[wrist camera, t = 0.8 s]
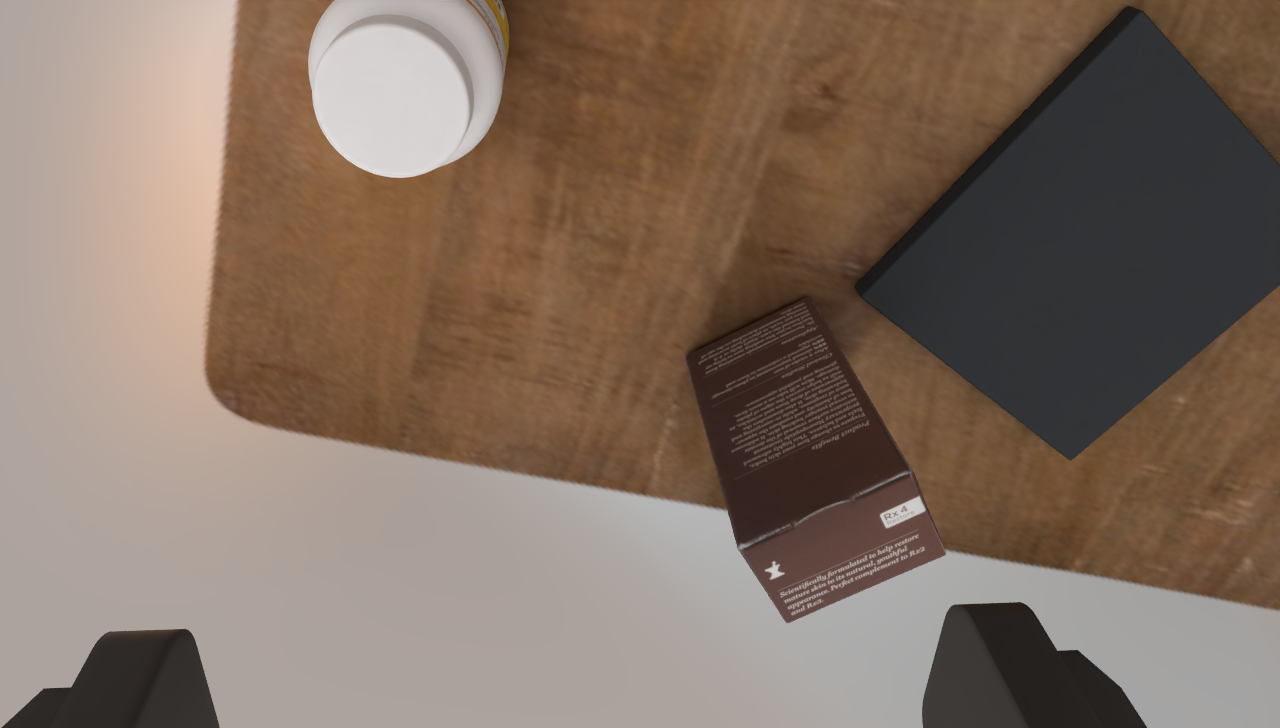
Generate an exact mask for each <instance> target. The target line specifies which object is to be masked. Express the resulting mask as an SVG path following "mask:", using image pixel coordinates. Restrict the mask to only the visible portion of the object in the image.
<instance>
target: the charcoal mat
mask: <svg viewBox="0 0 1280 728" xmlns="http://www.w3.org/2000/svg"><path fill="white" fill-rule="evenodd" d="M1279 285H1280V165H1279V164H1278V163H1277V162H1276V161H1275V159H1274V158H1273V157H1272V156H1271V155H1270V154H1269V153H1268V152H1267V150H1266V149H1265V148H1264V147H1263V146H1262V145H1261V144H1260V142H1259V141H1258V140H1257V139H1256V138H1255V137H1254V136H1253V135H1252V133H1251V132H1250V131H1249V130H1248V129H1247V128H1246V127H1245V126H1244V124H1243V123H1242V122H1241V121H1240V120H1239V119H1238V118H1237V117H1236V115H1235V114H1234V113H1233V112H1232V111H1231V110H1230V109H1229V108H1228V106H1227V105H1226V104H1225V103H1224V102H1223V101H1222V100H1221V99H1220V97H1219V96H1218V95H1217V94H1216V93H1215V92H1214V91H1213V89H1212V88H1211V87H1210V86H1209V85H1208V84H1207V83H1206V82H1205V80H1204V79H1203V78H1202V77H1201V76H1200V75H1199V74H1198V73H1197V71H1196V70H1195V69H1194V68H1193V67H1192V66H1191V65H1190V64H1189V62H1188V61H1187V60H1186V59H1185V58H1184V57H1183V56H1182V55H1181V53H1180V52H1179V51H1178V50H1177V49H1176V48H1175V47H1174V45H1173V44H1172V43H1171V42H1170V41H1169V40H1168V39H1167V38H1166V36H1165V35H1164V34H1163V33H1162V32H1161V31H1160V30H1159V29H1158V27H1157V26H1156V25H1155V24H1154V23H1153V22H1152V21H1151V20H1150V18H1149V17H1148V16H1147V15H1146V14H1145V13H1144V12H1143V11H1142V10H1139V9H1136V8H1133V7H1130V6H1128V7H1126V8H1125V10H1124V11H1123V12H1122V13H1121V14H1120V15H1119V16H1118V17H1117V18H1116V19H1115V20H1114V21H1113V22H1112V23H1111V24H1110V25H1109V26H1108V27H1107V28H1106V29H1105V30H1104V31H1103V32H1102V33H1101V34H1100V35H1099V36H1098V37H1097V38H1096V39H1095V40H1094V41H1093V42H1092V43H1091V44H1090V46H1089V47H1088V48H1087V49H1086V50H1085V51H1084V52H1083V53H1082V54H1081V55H1080V56H1079V57H1078V58H1077V59H1076V60H1075V61H1074V62H1073V63H1072V64H1071V65H1070V66H1069V67H1068V68H1067V69H1066V70H1065V71H1064V72H1063V73H1062V74H1061V75H1060V76H1059V77H1058V78H1057V79H1056V80H1055V82H1054V83H1053V84H1052V85H1051V86H1050V87H1049V88H1048V89H1047V90H1046V91H1045V92H1044V93H1043V94H1042V95H1041V96H1040V97H1039V98H1038V99H1037V100H1036V101H1035V102H1034V103H1033V104H1032V105H1031V106H1030V107H1029V108H1028V109H1027V110H1026V111H1025V112H1024V113H1023V114H1022V115H1021V116H1020V118H1019V119H1018V120H1017V121H1016V122H1015V123H1014V124H1013V125H1012V126H1011V127H1010V128H1009V129H1008V130H1007V131H1006V132H1005V133H1004V134H1003V135H1002V136H1001V137H1000V138H999V139H998V140H997V141H996V142H995V143H994V144H993V145H992V146H991V147H990V148H989V149H988V150H987V151H986V152H985V154H984V155H983V156H982V157H981V158H980V159H979V160H978V161H977V162H976V163H975V164H974V165H973V166H972V167H971V168H970V169H969V170H968V171H967V172H966V173H965V174H964V175H963V176H962V177H961V178H960V179H959V180H958V181H957V182H956V183H955V184H954V185H953V186H952V187H951V188H950V190H949V191H948V192H947V193H946V194H945V195H944V196H943V197H942V198H941V199H940V200H939V201H938V202H937V203H936V204H935V205H934V206H933V207H932V208H931V209H930V210H929V211H928V212H927V213H926V214H925V215H924V216H923V217H922V218H921V219H920V220H919V221H918V222H917V223H916V224H915V226H914V227H913V228H912V229H911V230H910V231H909V232H908V233H907V234H906V235H905V236H904V237H903V238H902V239H901V240H900V241H899V242H898V243H897V244H896V245H895V246H894V247H893V248H892V249H891V250H890V251H889V252H888V253H887V254H886V255H885V256H884V257H883V258H882V259H881V260H880V262H879V263H878V264H877V265H876V266H875V267H874V268H873V269H872V270H871V271H870V272H869V273H868V274H867V275H866V276H865V277H864V278H863V279H862V280H861V281H860V282H859V283H858V284H857V285H856V286H855V288H856V290H857V292H858V293H859V295H860V296H861V298H862V299H864V300H865V301H866V302H868V303H869V304H870V305H871V306H873V307H874V308H875V309H877V310H878V311H879V312H880V313H882V314H883V315H884V316H885V317H887V318H888V319H889V320H891V321H892V322H893V323H894V324H896V325H897V326H898V327H900V328H901V329H902V330H903V331H905V332H906V333H907V334H909V335H910V336H911V337H912V338H914V339H915V340H916V341H917V342H919V343H920V344H921V345H923V346H924V347H925V348H926V349H928V350H929V351H930V352H932V353H933V354H934V355H935V356H937V357H938V358H939V359H940V360H942V361H943V362H944V363H946V364H947V365H948V366H949V367H951V368H952V369H953V370H955V371H956V372H957V373H958V374H960V375H961V376H962V377H964V378H965V379H966V380H967V381H969V382H970V383H971V384H972V385H974V386H975V387H976V388H978V389H979V390H980V391H981V392H983V393H984V394H985V395H987V396H988V397H989V398H990V399H992V400H993V401H994V402H996V403H997V404H998V405H999V406H1001V407H1002V408H1003V409H1004V410H1006V411H1007V412H1008V413H1010V414H1011V415H1012V416H1013V417H1015V418H1016V419H1017V420H1019V421H1020V422H1021V423H1022V424H1024V425H1025V426H1026V427H1027V428H1029V429H1030V430H1031V431H1033V432H1034V433H1035V434H1036V435H1038V436H1039V437H1040V438H1042V439H1043V440H1044V441H1045V442H1047V443H1048V444H1049V445H1051V446H1052V447H1053V448H1054V449H1056V450H1057V451H1058V452H1059V453H1061V454H1062V455H1063V456H1065V457H1066V458H1067V459H1068V460H1072V459H1074V458H1075V457H1076V456H1077V455H1078V454H1080V453H1081V452H1082V451H1083V450H1084V449H1085V448H1087V447H1088V446H1089V445H1090V444H1091V443H1093V442H1094V441H1095V440H1096V439H1097V438H1098V437H1100V436H1101V435H1102V434H1103V433H1104V432H1106V431H1107V430H1108V429H1109V428H1110V427H1112V426H1113V425H1114V424H1115V423H1116V422H1117V421H1119V420H1120V419H1121V418H1122V417H1123V416H1125V415H1126V414H1127V413H1128V412H1129V411H1131V410H1132V409H1133V408H1134V407H1135V406H1136V405H1138V404H1139V403H1140V402H1141V401H1142V400H1144V399H1145V398H1146V397H1147V396H1148V395H1150V394H1151V393H1152V392H1153V391H1154V390H1155V389H1157V388H1158V387H1159V386H1160V385H1161V384H1163V383H1164V382H1165V381H1166V380H1167V379H1168V378H1170V377H1171V376H1172V375H1173V374H1174V373H1176V372H1177V371H1178V370H1179V369H1180V368H1182V367H1183V366H1184V365H1185V364H1186V363H1187V362H1189V361H1190V360H1191V359H1192V358H1193V357H1195V356H1196V355H1197V354H1198V353H1199V352H1201V351H1202V350H1203V349H1204V348H1205V347H1206V346H1208V345H1209V344H1210V343H1211V342H1212V341H1214V340H1215V339H1216V338H1217V337H1218V336H1219V335H1221V334H1222V333H1223V332H1224V331H1225V330H1227V329H1228V328H1229V327H1230V326H1231V325H1233V324H1234V323H1235V322H1236V321H1237V320H1238V319H1240V318H1241V317H1242V316H1243V315H1244V314H1246V313H1247V312H1248V311H1249V310H1250V309H1252V308H1253V307H1254V306H1255V305H1256V304H1257V303H1259V302H1260V301H1261V300H1262V299H1263V298H1265V297H1266V296H1267V295H1268V294H1269V293H1271V292H1272V291H1273V290H1274V289H1275V288H1276V287H1278V286H1279Z"/></svg>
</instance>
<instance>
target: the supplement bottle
mask: <svg viewBox="0 0 1280 728" xmlns="http://www.w3.org/2000/svg"><path fill="white" fill-rule="evenodd" d="M508 49H509V25H508V19H507V15H506V12H505V9H504V6H503V3H502V1H501V0H334V1H333V2H332V3H331V4H330V5H329V6H328V8H327V9H326V11H325V12H324V14H323V15H322V17H321V18H320V20H319V22H318V23H317V26H316V28H315V31H314V33H313V36H312V39H311V44H310V49H309V58H308V70H309V79H310V84H311V88H312V98H313V106H314V110H315V114H316V118H317V120H318V123H319V125H320V128H321V129H322V131H323V133H324V135H325V136H326V138H327V139H328V141H329V142H330V143H331V144H332V146H333V147H334V148H335V149H336V150H337V151H338V152H339V153H340V154H341V155H342V156H343V157H344V158H346V159H347V160H348V161H350V162H351V163H353V164H354V165H356V166H357V167H359V168H361V169H363V170H366V171H368V172H371V173H374V174H377V175H381V176H386V177H395V178H404V177H413V176H417V175H421V174H424V173H427V172H429V171H431V170H433V169H435V168H437V167H440V166H443V165H446V164H449V163H451V162H453V161H456V160H457V159H459V158H461V157H463V156H464V155H465V154H467V153H468V152H470V151H471V150H472V149H473V148H474V147H475V146H476V145H477V144H478V143H479V142H480V141H481V140H482V139H483V137H484V136H485V135H486V133H487V132H488V130H489V128H490V127H491V125H492V123H493V121H494V118H495V116H496V113H497V111H498V107H499V104H500V100H501V96H502V90H503V80H504V74H505V68H506V62H507V56H508Z"/></svg>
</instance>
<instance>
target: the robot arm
mask: <svg viewBox="0 0 1280 728" xmlns="http://www.w3.org/2000/svg"><path fill="white" fill-rule="evenodd" d="M922 718H923V728H1147V727H1146V725H1145V724H1144V722H1143V721H1142V719H1141V718H1140V716H1139V715H1138V713H1137V712H1136V710H1135V708H1134V707H1133V705H1132V704H1131V702H1130V701H1129V699H1128V698H1127V696H1126V695H1125V693H1124V692H1123V690H1122V688H1121V687H1120V686H1118V685H1117V684H1116V683H1115V682H1114V681H1113V680H1112V679H1110V678H1109V677H1108V676H1107V675H1106V674H1105V673H1103V672H1102V671H1101V670H1100V669H1099V668H1098V667H1096V666H1095V665H1094V664H1093V663H1092V662H1091V661H1090V660H1088V659H1087V658H1086V657H1085V656H1084V655H1082V654H1081V653H1080V652H1079V651H1078V650H1068V651H1057V650H1056V648H1055V646H1054V645H1053V643H1052V641H1051V640H1050V638H1049V637H1048V635H1047V633H1046V632H1045V630H1044V628H1043V626H1042V625H1041V623H1040V622H1039V620H1038V618H1037V617H1036V615H1035V614H1034V612H1033V611H1032V610H1031V609H1030V608H1029V607H1028V606H1027V605H1025V604H1023V603H1021V602H1017V603H990V604H989V603H988V604H962V605H960V604H959V605H953V606H951V607H950V609H949V610H948V612H947V614H946V617H945V620H944V623H943V627H942V631H941V635H940V638H939V642H938V646H937V649H936V653H935V657H934V661H933V664H932V668H931V672H930V675H929V679H928V683H927V687H926V691H925V694H924V699H923V707H922ZM2 728H219V723H218V720H217V716H216V713H215V709H214V705H213V702H212V698H211V695H210V691H209V687H208V684H207V680H206V677H205V674H204V670H203V666H202V663H201V659H200V655H199V652H198V648H197V645H196V642H195V639H194V637H193V635H192V633H191V632H190V631H189V630H186V629H175V630H146V631H118V632H108V633H106V634H104V635H103V636H102V637H101V638H100V639H99V640H98V641H97V643H96V644H95V646H94V647H93V649H92V651H91V653H90V654H89V656H88V658H87V660H86V662H85V664H84V665H83V667H82V669H81V671H80V673H79V675H78V677H77V678H76V680H75V682H74V684H73V685H72V687H71V688H49V689H48V688H47V689H43V690H42V691H41V692H40V693H39V694H38V695H36V696H35V697H34V698H33V699H32V700H31V701H30V702H29V703H28V704H27V705H26V706H25V707H24V708H22V709H21V710H20V711H19V712H18V713H17V714H16V715H15V716H14V717H13V718H12V719H10V721H8V723H6V724H5V725H4V726H3V727H2Z"/></svg>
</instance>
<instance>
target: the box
mask: <svg viewBox="0 0 1280 728" xmlns="http://www.w3.org/2000/svg"><path fill="white" fill-rule="evenodd" d="M685 359H686V362H687V366H688V369H689V372H690V377H691V381H692V384H693V388H694V391H695V395H696V398H697V403H698V406H699V409H700V413H701V417H702V420H703V424H704V427H705V431H706V435H707V438H708V441H709V445H710V449H711V453H712V456H713V460H714V463H715V466H716V470H717V473H718V477H719V481H720V484H721V488H722V491H723V495H724V499H725V502H726V506H727V510H728V515H729V517H730V520H731V525H732V529H733V533H734V537H735V540H736V543H737V548H738V550H739V551H740V552H741V554H742V555H743V557H744V559H745V560H746V562H747V563H748V565H749V566H750V568H751V569H752V571H753V572H754V574H755V575H756V577H757V579H758V580H759V582H760V583H761V585H762V586H763V587H764V589H765V591H766V592H767V594H768V596H769V597H770V599H771V600H772V602H773V603H774V604H775V606H776V608H777V609H778V611H779V613H780V614H781V616H782V617H783V619H784V620H785V622H787V623H790V622H792V621H794V620H796V619H799V618H801V617H803V616H806V615H808V614H810V613H812V612H815V611H817V610H819V609H821V608H824V607H826V606H828V605H830V604H833V603H835V602H837V601H840V600H842V599H844V598H847V597H849V596H851V595H853V594H856V593H858V592H860V591H863V590H865V589H867V588H870V587H872V586H874V585H877V584H879V583H881V582H884V581H886V580H888V579H890V578H893V577H895V576H897V575H900V574H902V573H904V572H907V571H909V570H912V569H913V568H916V567H918V566H921V565H923V564H926V563H928V562H930V561H933V560H935V559H937V558H940V557H942V556H944V555H946V552H945V549H944V547H943V544H942V542H941V539H940V537H939V534H938V531H937V529H936V527H935V524H934V522H933V519H932V517H931V515H930V512H929V510H928V508H927V505H926V503H925V500H924V498H923V495H922V493H921V490H920V487H919V484H918V482H917V480H916V477H915V474H914V472H913V470H912V469H911V467H910V466H909V464H908V462H907V461H906V459H905V458H904V456H903V454H902V452H901V451H900V449H899V448H898V446H897V444H896V442H895V441H894V439H893V437H892V436H891V434H890V432H889V431H888V429H887V427H886V425H885V424H884V422H883V420H882V419H881V417H880V415H879V414H878V412H877V410H876V408H875V407H874V405H873V404H872V402H871V400H870V398H869V396H868V395H867V393H866V391H865V390H864V389H863V387H862V385H861V383H860V381H859V380H858V378H857V376H856V375H855V373H854V371H853V369H852V368H851V366H850V364H849V362H848V361H847V359H846V357H845V356H844V354H843V352H842V351H841V349H840V347H839V345H838V343H837V342H836V340H835V338H834V337H833V334H832V333H831V331H830V329H829V328H828V326H827V324H826V322H825V320H824V318H823V316H822V315H821V313H820V311H819V310H818V308H817V306H816V305H815V303H814V301H813V300H812V299H811V298H809V297H806V298H804V299H802V300H800V301H798V302H796V303H794V304H792V305H790V306H788V307H786V308H784V309H782V310H780V311H777V312H775V313H773V314H771V315H769V316H767V317H765V318H763V319H761V320H759V321H757V322H755V323H753V324H751V325H749V326H747V327H744V328H743V329H740V330H738V331H736V332H734V333H732V334H730V335H728V336H726V337H724V338H722V339H720V340H718V341H716V342H714V343H712V344H710V345H708V346H706V347H703V348H701V349H699V350H697V351H695V352H693V353H691V354H689V355H687V356H686V357H685Z"/></svg>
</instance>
